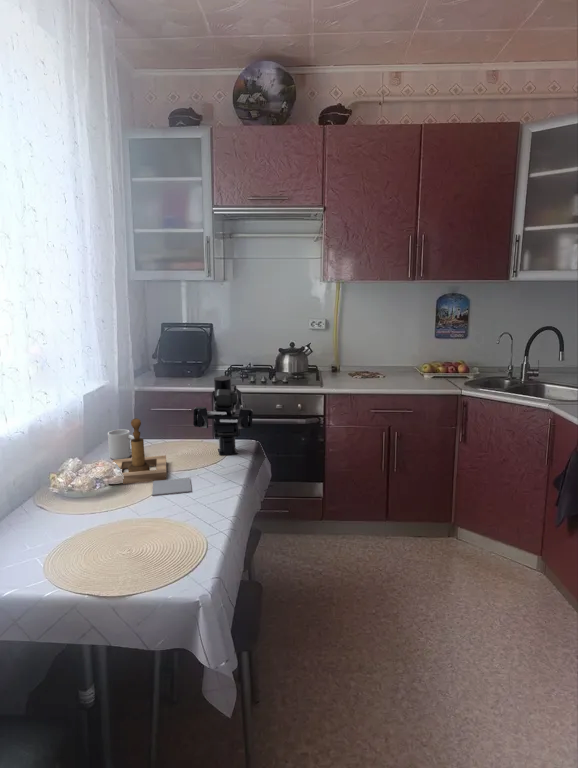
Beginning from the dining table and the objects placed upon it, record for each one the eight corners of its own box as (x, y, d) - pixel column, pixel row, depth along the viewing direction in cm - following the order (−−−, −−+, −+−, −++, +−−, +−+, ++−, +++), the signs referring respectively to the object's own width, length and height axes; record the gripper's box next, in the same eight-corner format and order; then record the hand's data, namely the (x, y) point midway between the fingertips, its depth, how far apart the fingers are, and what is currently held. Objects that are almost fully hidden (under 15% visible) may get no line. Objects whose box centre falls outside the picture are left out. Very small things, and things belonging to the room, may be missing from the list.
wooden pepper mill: (138, 478, 162) (134, 422, 159) (124, 474, 166) (120, 419, 162) (154, 471, 168) (150, 417, 165) (140, 468, 171) (136, 415, 168)
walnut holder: (114, 466, 173) (113, 459, 173) (166, 462, 177) (165, 455, 176) (108, 485, 157) (108, 477, 156) (166, 479, 161) (166, 472, 160)
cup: (114, 453, 188) (112, 429, 186) (141, 453, 187) (140, 429, 185) (106, 459, 180) (104, 435, 179) (134, 460, 180) (132, 435, 178)
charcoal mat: (153, 482, 159) (153, 481, 159) (189, 478, 161) (189, 477, 161) (152, 495, 148) (152, 494, 148) (191, 492, 151) (191, 490, 151)
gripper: (195, 385, 171) (191, 401, 156) (252, 387, 173) (254, 402, 158) (195, 417, 174) (191, 435, 159) (251, 418, 176) (252, 436, 161)
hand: (222, 426), depth 159 cm, fingers open, 9 cm apart
